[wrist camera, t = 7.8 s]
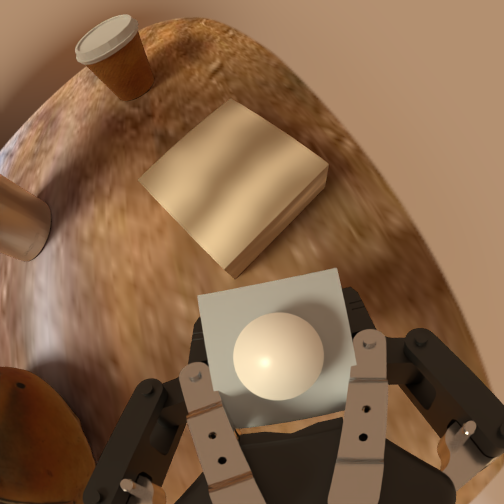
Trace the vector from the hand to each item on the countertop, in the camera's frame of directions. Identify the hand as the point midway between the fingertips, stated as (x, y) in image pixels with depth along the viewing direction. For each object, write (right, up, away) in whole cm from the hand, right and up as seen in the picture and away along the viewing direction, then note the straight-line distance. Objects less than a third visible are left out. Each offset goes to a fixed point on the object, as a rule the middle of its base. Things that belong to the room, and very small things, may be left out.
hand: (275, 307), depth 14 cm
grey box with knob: (+1, -3, +4) cm, 5 cm away
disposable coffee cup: (-19, +28, +24) cm, 42 cm away
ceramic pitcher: (-27, -22, +12) cm, 37 cm away
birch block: (-3, +9, +17) cm, 19 cm away
